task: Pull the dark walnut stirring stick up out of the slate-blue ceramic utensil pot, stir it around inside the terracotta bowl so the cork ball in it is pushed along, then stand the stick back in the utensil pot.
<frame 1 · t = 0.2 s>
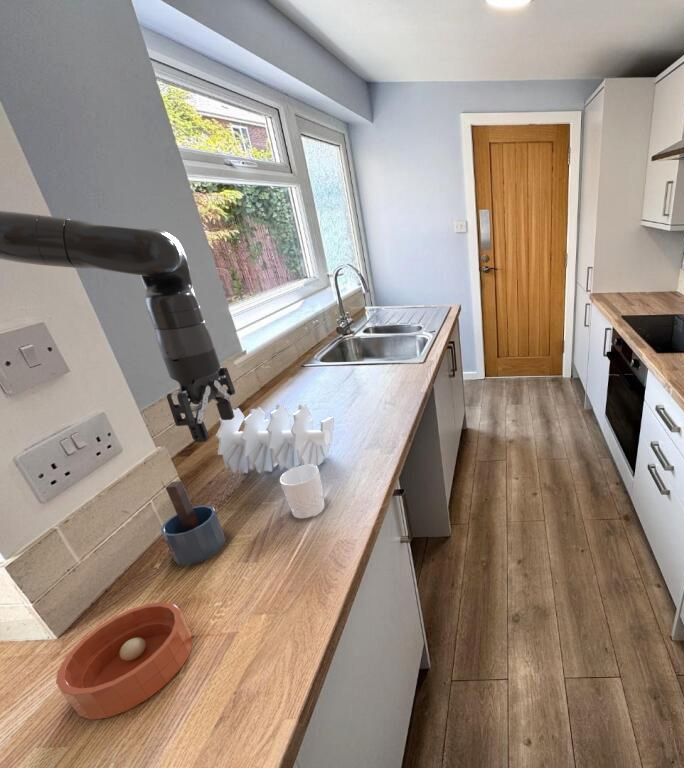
hand: (215, 429, 78), 26 cm above the table, tool pointing down, fingers open, 8 cm apart
spiral staircase: (286, 466, 111), on the table
white cup: (309, 510, 94), on the table
bowl: (138, 669, 61), on the table
utensil pot: (201, 550, 83), on the table
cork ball: (132, 648, 62), point 2 cm above the table, touching bowl
stick: (200, 548, 83), point 1 cm above the table, touching utensil pot
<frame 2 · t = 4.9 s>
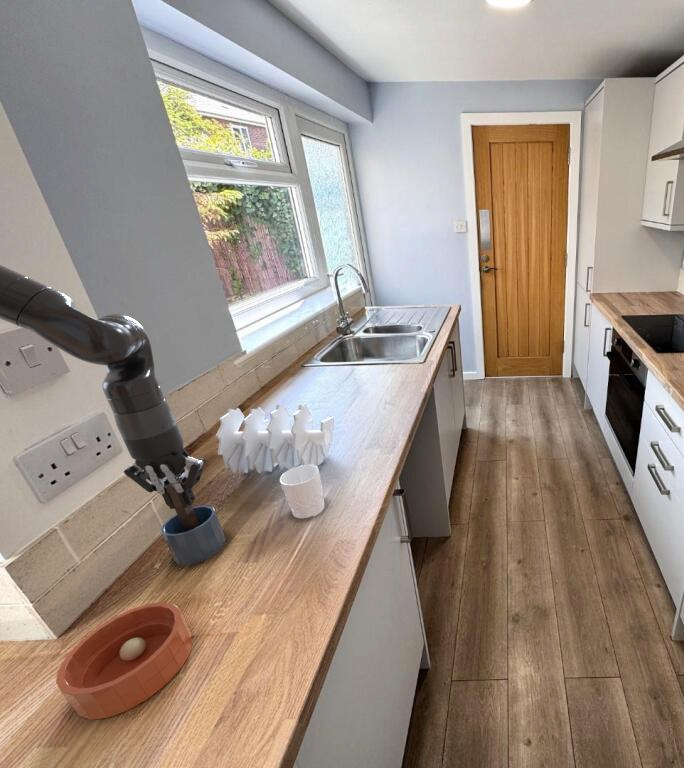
hand: (182, 505, 79), 12 cm above the table, tool pointing down, fingers closed on stick, 2 cm apart
stick: (200, 548, 83), point 1 cm above the table, touching gripper
everything else where it was.
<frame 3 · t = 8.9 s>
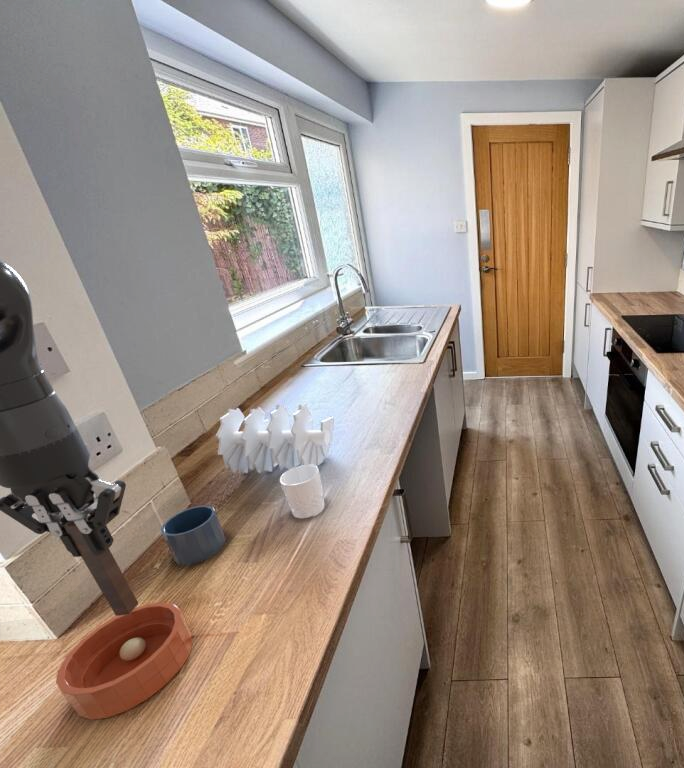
hand: (93, 550, 53), 23 cm above the table, tool pointing down, fingers closed on stick
stick: (127, 609, 57), point 12 cm above the table, touching gripper
everything else where it was.
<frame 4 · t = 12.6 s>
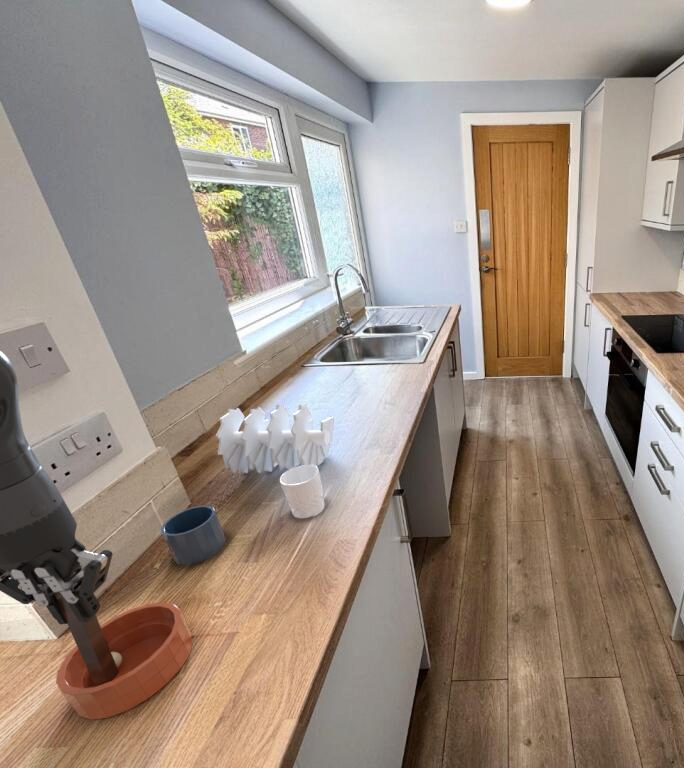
hand: (80, 616, 53), 15 cm above the table, tool pointing down, fingers closed on stick
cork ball: (107, 663, 60), point 2 cm above the table, tilted 23°, touching bowl
stick: (107, 679, 56), point 4 cm above the table, tilted 6°, touching gripper
everything else where it was.
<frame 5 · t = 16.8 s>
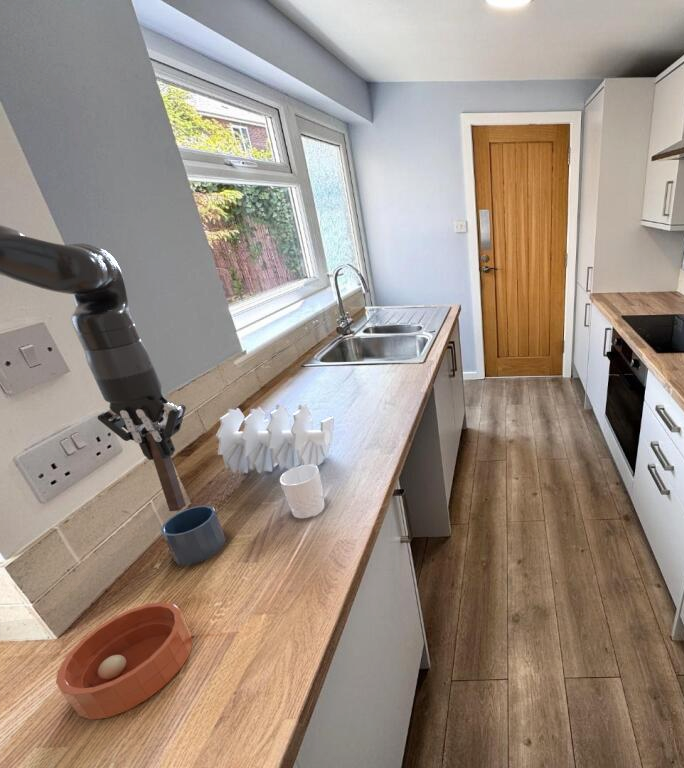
hand: (161, 456, 75), 23 cm above the table, tool pointing down, fingers closed on stick
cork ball: (112, 666, 60), point 2 cm above the table, tilted 30°, touching bowl
stick: (177, 508, 78), point 12 cm above the table, tilted 6°, touching gripper
everything else where it was.
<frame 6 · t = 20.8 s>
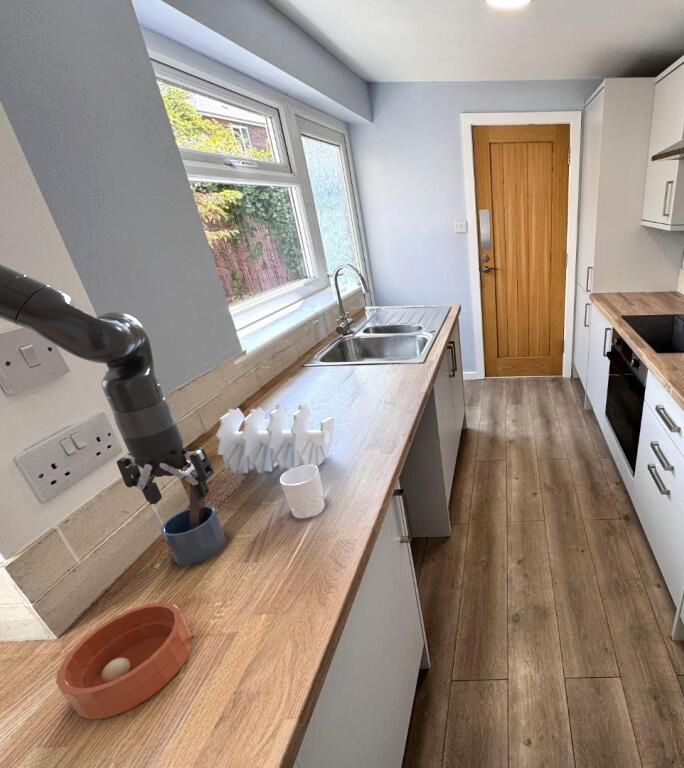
hand: (179, 499, 78), 13 cm above the table, tool pointing down, fingers open, 8 cm apart
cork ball: (116, 669, 59), point 2 cm above the table, tilted 69°, touching bowl
stick: (196, 550, 82), point 1 cm above the table, tilted 29°, touching utensil pot
everything else where it was.
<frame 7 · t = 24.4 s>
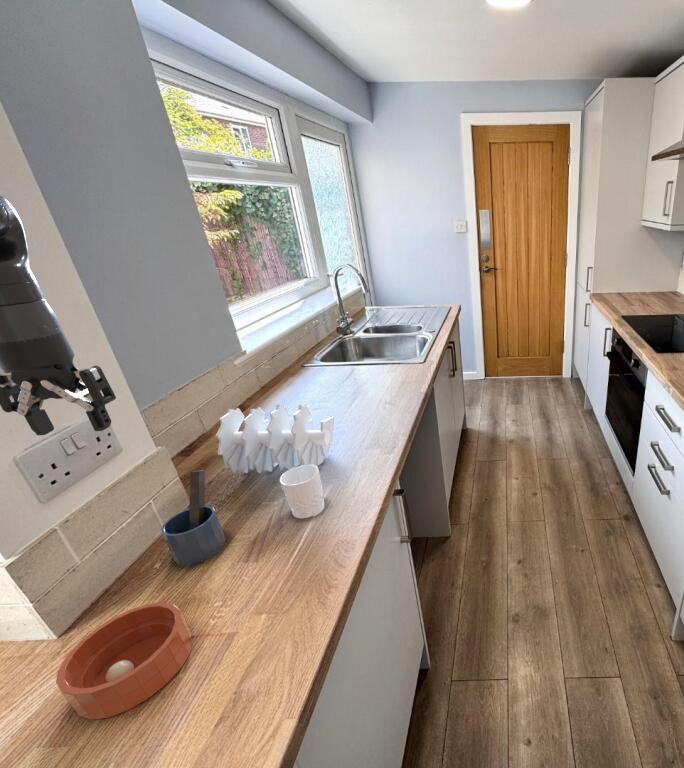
hand: (75, 430, 65), 32 cm above the table, tool pointing down, fingers open, 8 cm apart
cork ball: (120, 672, 59), point 2 cm above the table, tilted 106°, touching bowl
everything else where it was.
at the end: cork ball moved 3.7 cm from its start; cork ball inside the target area in the bowl (1.7 cm from its centre), point 2.1 cm above the bowl's base; stick 1.1 cm off-centre in the utensil pot, point 1.0 cm above the utensil pot's base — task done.
